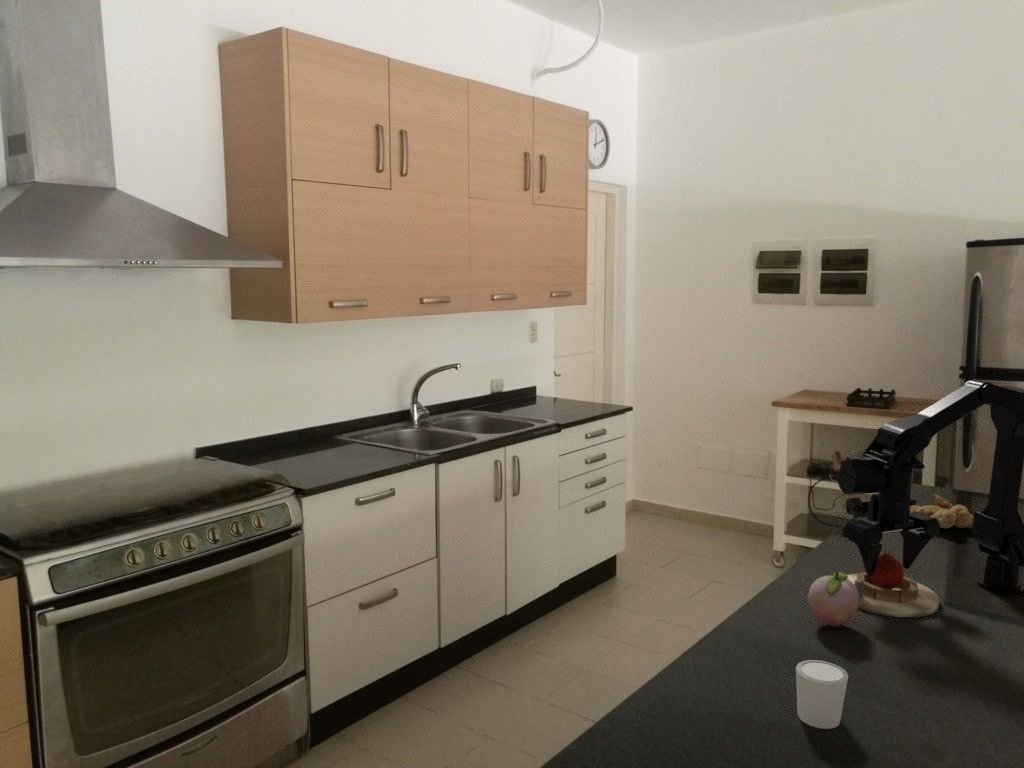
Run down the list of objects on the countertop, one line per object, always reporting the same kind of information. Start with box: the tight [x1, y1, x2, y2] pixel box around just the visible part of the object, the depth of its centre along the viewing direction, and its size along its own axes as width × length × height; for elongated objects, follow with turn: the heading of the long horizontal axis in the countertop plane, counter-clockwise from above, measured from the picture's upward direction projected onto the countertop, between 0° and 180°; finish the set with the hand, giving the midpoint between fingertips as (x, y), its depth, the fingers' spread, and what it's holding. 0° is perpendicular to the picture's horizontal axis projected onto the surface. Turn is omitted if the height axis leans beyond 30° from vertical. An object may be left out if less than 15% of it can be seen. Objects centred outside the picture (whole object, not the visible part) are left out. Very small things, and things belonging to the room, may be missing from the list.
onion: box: [871, 549, 905, 589], centre depth 157 cm, size 6×6×8 cm
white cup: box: [795, 659, 849, 730], centre depth 116 cm, size 7×7×7 cm
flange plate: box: [846, 571, 940, 618], centre depth 158 cm, size 18×18×4 cm
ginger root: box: [910, 493, 974, 529], centre depth 200 cm, size 16×16×8 cm
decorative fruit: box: [807, 571, 859, 628], centre depth 145 cm, size 9×8×10 cm
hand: (887, 571), depth 157 cm, fingers open, 9 cm apart
